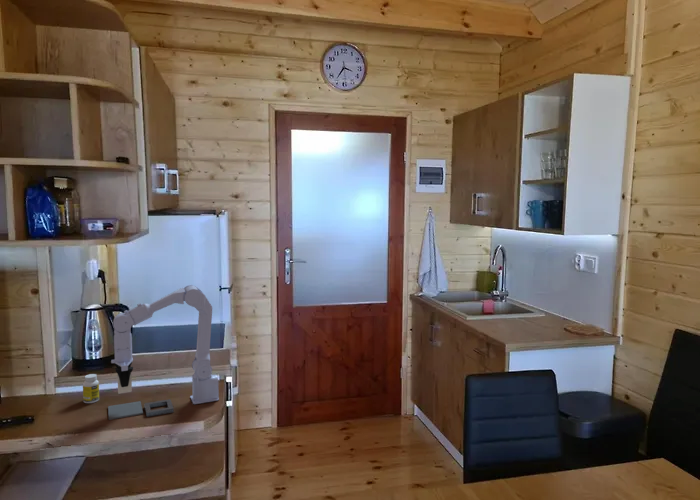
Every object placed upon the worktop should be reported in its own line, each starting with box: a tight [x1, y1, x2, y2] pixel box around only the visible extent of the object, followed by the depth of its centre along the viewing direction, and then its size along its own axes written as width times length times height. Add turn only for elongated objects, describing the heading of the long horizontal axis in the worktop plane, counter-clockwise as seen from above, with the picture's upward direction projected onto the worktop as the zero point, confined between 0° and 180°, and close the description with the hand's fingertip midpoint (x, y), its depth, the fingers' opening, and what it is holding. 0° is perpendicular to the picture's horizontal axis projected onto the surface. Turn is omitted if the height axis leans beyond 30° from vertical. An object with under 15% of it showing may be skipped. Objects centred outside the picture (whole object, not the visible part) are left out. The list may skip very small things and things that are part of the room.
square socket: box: [144, 398, 175, 418], centre depth 180 cm, size 9×9×2 cm
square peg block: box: [116, 373, 133, 395], centre depth 177 cm, size 4×4×7 cm
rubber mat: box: [107, 400, 144, 421], centre depth 179 cm, size 11×11×1 cm
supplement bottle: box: [82, 373, 100, 404], centre depth 186 cm, size 5×5×10 cm
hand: (124, 384), depth 178 cm, fingers closed on square peg block, 4 cm apart
